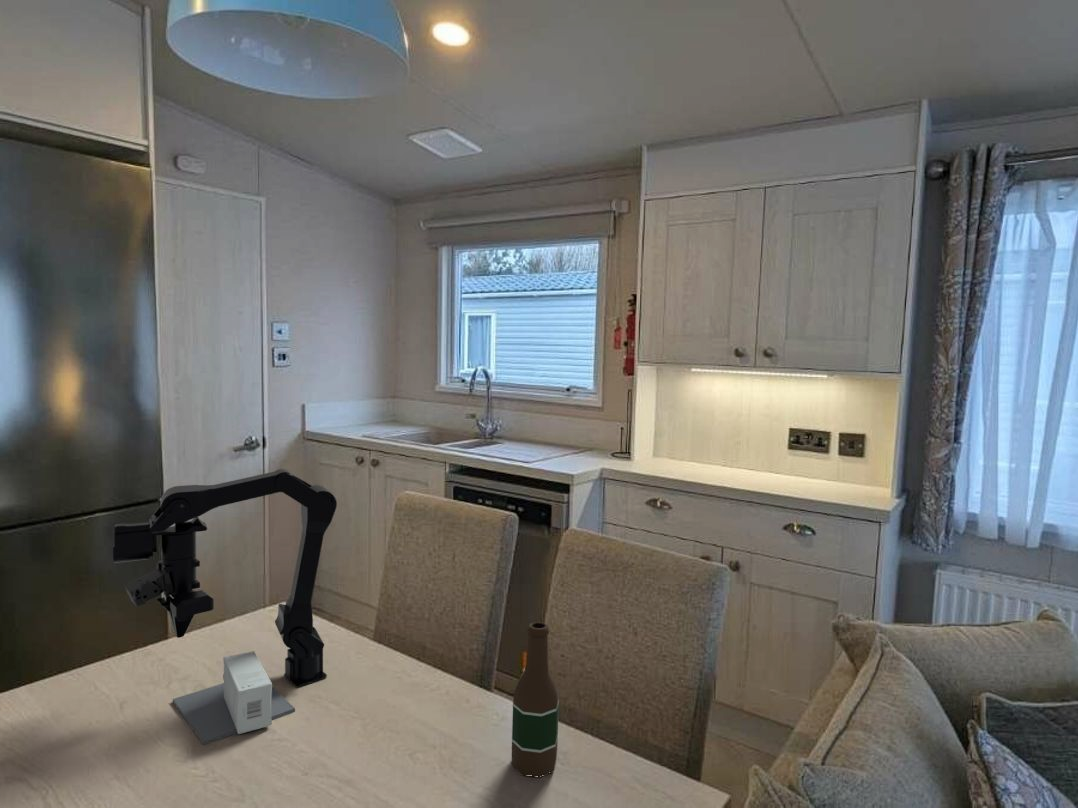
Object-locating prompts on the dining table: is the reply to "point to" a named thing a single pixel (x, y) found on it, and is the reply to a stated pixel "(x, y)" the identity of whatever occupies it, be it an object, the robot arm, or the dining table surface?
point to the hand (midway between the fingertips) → (179, 636)
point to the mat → (219, 712)
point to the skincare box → (247, 692)
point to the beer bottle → (535, 709)
